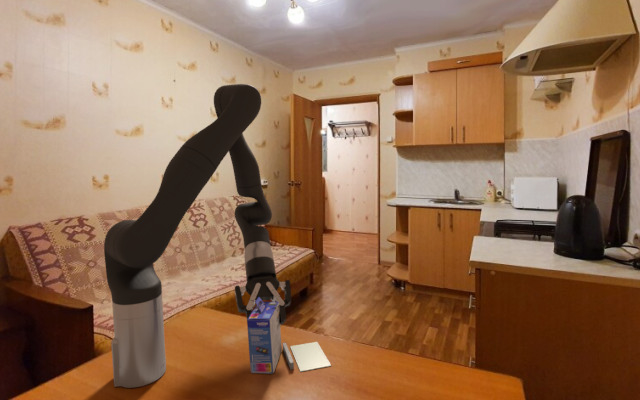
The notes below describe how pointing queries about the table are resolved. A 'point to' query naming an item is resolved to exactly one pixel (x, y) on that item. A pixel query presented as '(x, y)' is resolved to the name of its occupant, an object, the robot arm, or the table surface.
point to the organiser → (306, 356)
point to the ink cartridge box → (264, 337)
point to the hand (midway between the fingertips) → (267, 325)
